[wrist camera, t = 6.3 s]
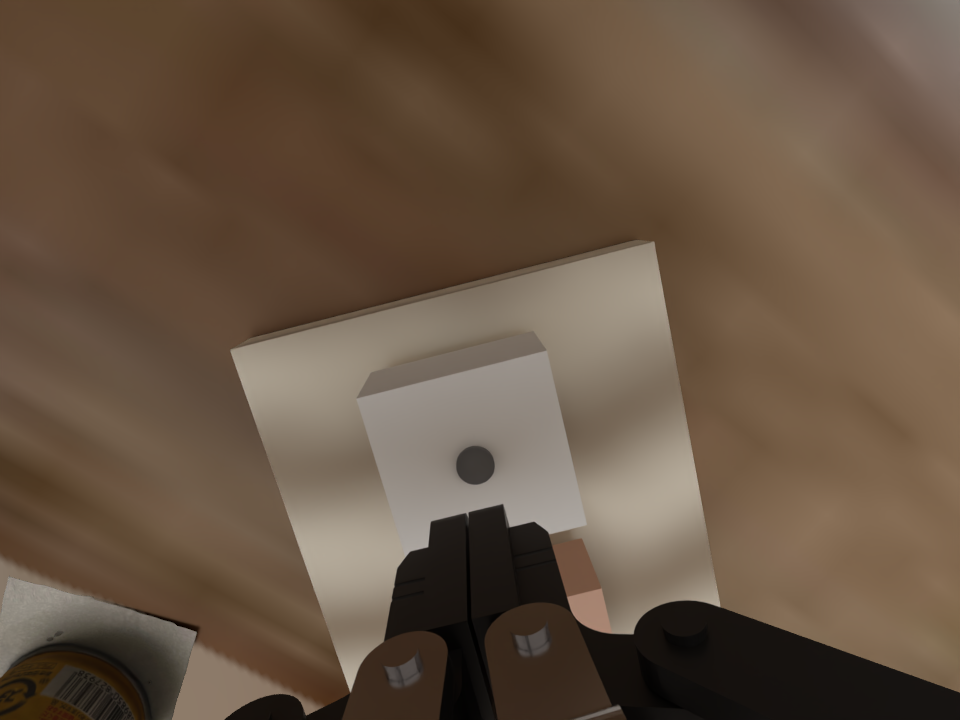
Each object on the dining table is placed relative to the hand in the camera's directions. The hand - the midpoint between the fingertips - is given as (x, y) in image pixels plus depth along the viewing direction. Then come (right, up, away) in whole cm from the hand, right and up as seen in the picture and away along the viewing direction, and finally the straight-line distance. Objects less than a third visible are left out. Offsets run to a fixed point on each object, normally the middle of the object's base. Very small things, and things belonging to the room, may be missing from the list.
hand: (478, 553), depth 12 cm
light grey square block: (0, +2, +7) cm, 7 cm away
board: (+1, -4, +12) cm, 12 cm away
